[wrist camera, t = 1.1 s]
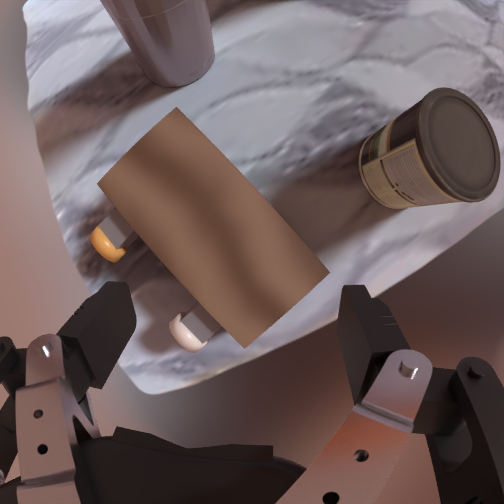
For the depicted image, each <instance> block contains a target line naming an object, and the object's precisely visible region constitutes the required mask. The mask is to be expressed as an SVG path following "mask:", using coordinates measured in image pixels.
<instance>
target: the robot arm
mask: <svg viewBox="0 0 504 504" xmlns="http://www.w3.org/2000/svg"><path fill="white" fill-rule="evenodd" d="M100 1H101V2H102V4H103V6H104V7H105V9H106V10H107V12H108V13H109V15H110V17H111V18H112V20H113V21H114V23H115V25H116V26H117V28H118V30H119V31H120V33H121V34H122V36H123V38H124V39H125V41H126V42H127V44H128V46H129V47H130V49H131V50H132V52H133V54H134V55H135V57H136V59H137V60H138V62H139V64H140V65H141V67H142V69H143V70H144V72H145V73H146V75H147V77H148V78H149V79H150V80H151V81H152V82H154V83H155V84H157V85H160V86H164V87H179V86H184V85H187V84H189V83H192V82H194V81H196V80H197V79H199V78H201V77H202V76H203V75H204V74H205V73H206V72H207V71H208V70H209V69H210V67H211V65H212V63H213V61H214V57H215V51H214V44H213V37H212V30H211V23H210V17H209V10H208V3H207V0H100ZM136 321H137V320H136V314H135V310H134V306H133V302H132V298H131V294H130V290H129V287H128V285H127V283H126V282H114V281H108V282H106V283H105V284H104V285H103V286H102V287H101V289H100V290H99V291H98V292H97V293H95V294H94V295H92V296H91V297H89V298H88V299H86V300H85V301H84V302H83V304H82V305H81V306H80V308H78V309H77V311H75V313H74V315H72V316H71V317H70V318H69V320H68V321H67V322H66V323H65V324H64V326H63V327H62V328H61V329H60V330H59V332H58V333H57V334H56V335H55V334H46V335H42V336H40V337H38V338H36V339H35V340H33V341H32V342H31V343H30V345H29V346H28V348H22V349H16V347H15V345H14V343H13V342H12V340H11V339H10V338H9V337H0V384H1V383H2V385H3V386H4V388H5V389H6V391H7V392H8V393H9V397H8V399H7V400H6V402H5V403H4V405H3V407H2V408H1V410H0V504H373V503H374V501H375V500H376V498H377V496H378V495H379V493H380V492H381V490H382V488H383V487H384V485H385V483H386V481H387V480H388V478H389V476H390V474H391V473H392V470H393V469H394V467H395V465H396V463H397V461H398V459H399V457H400V456H401V453H402V452H403V450H404V447H405V445H406V443H407V441H408V439H409V437H410V435H411V433H418V434H425V436H426V440H427V444H428V447H429V452H430V455H431V459H432V464H433V468H434V472H435V476H436V482H437V486H438V491H439V496H440V502H441V504H504V387H503V385H502V384H501V382H500V380H499V378H498V377H497V375H496V373H495V371H494V369H493V368H492V367H491V365H490V364H488V363H487V362H486V361H484V360H483V359H480V358H477V357H466V358H464V359H462V360H461V361H460V362H459V364H458V366H457V368H456V370H453V369H443V368H435V367H432V365H431V363H430V361H429V360H428V359H427V357H426V356H424V355H423V354H421V353H419V352H417V351H414V350H411V349H410V347H409V345H408V343H407V341H406V339H405V337H404V335H403V333H402V331H401V329H400V328H399V326H398V324H397V322H396V320H395V319H394V317H393V315H392V313H391V311H390V310H389V307H388V306H387V305H386V304H385V303H384V302H382V301H381V300H380V299H379V298H371V296H370V294H369V292H368V290H367V289H366V287H365V285H344V286H343V288H342V294H341V301H340V307H339V314H338V320H337V335H338V340H339V344H340V348H341V351H342V355H343V359H344V363H345V367H346V371H347V375H348V380H349V384H350V388H351V392H352V396H353V400H354V405H355V406H354V408H353V409H352V411H351V412H350V414H349V415H348V417H347V418H346V419H345V421H344V422H343V423H342V425H341V426H340V428H339V429H338V430H337V432H336V433H335V435H334V436H333V437H332V438H331V440H330V441H329V442H328V444H327V445H326V446H325V448H324V449H323V450H322V451H321V453H320V454H319V455H318V456H317V458H316V459H315V460H314V461H313V462H312V464H311V465H310V466H309V467H308V468H305V467H303V466H301V465H300V464H297V463H295V462H293V461H290V460H287V459H284V458H281V457H276V456H273V446H268V445H265V446H264V445H263V446H262V445H238V444H228V445H220V446H212V447H203V448H190V449H189V448H184V447H181V446H179V445H176V444H173V443H171V442H169V441H166V440H164V439H161V438H159V437H157V436H155V435H152V434H150V433H145V432H140V431H135V430H130V429H126V428H122V427H118V426H117V427H116V429H115V432H114V434H113V436H105V437H102V436H101V434H100V431H99V428H98V425H97V421H96V418H95V414H94V411H93V407H92V403H91V399H90V396H89V394H88V392H87V389H88V388H89V386H90V387H94V388H98V389H102V388H103V386H104V384H105V382H106V380H107V379H108V377H109V375H110V373H111V371H112V370H113V368H114V366H115V364H116V362H117V361H118V359H119V357H120V355H121V354H122V352H123V350H124V348H125V347H126V345H127V343H128V341H129V340H130V338H131V336H132V334H133V333H134V331H135V328H136ZM17 453H18V457H19V466H20V473H21V476H19V477H17V478H15V479H13V480H11V481H9V482H7V483H5V479H6V477H7V475H8V472H9V470H10V467H11V465H12V463H13V461H14V459H15V457H16V455H17Z"/></svg>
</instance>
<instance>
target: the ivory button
mask: <svg viewBox="0 0 504 504" xmlns="http://www.w3.org/2000/svg"><path fill="white" fill-rule="evenodd" d="M221 328H222V326H221V325H220V324H219V323H218V322H217V321H216V320H215V319H214V318H213V317H212V315H211V314H210V313H209V312H208V311H207V310H206V309H205V308H204V307H203V306H202V305H201V304H200V303H199V302H197V303H196V304H195V305H194V306H193V307H192V308H191V309H189V310H188V311H187V312H186V313H184V312H180V313H179V314H178V315H177V316H176V317H175V318H174V319H173V320H171V321H170V322H169V329H170V331H171V333H172V335H173V337H174V338H175V339H176V341H177V342H178V343H179V344H180V345H181V346H182V347H184V348H185V349H186V350H188V351H190V352H192V353H196V352H197V351H199V350H200V349H201V348H202V347H203V346H205V345H206V344H207V343H208V339H209V338H210V337H211V336H212V335H214V334H215V333H216V332H217V331H218V330H219V329H221Z"/></svg>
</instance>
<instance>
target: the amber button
mask: <svg viewBox="0 0 504 504" xmlns="http://www.w3.org/2000/svg"><path fill="white" fill-rule="evenodd" d="M138 237H139V235H138V234H137V233H136V231H135V230H134V229H133V228H132V227H131V225H130V224H129V223H128V222H127V221H126V219H125V218H124V217H123V216H122V215H121V213H120V212H119V211H118V210H117V208H116V207H115V208H114V209H113V210H112V211H111V213H110V214H109V215H108V216H107V217H106V218H105V219H104V220H103V221H102V223H100V224H99V225H98V226H97V227H96V228H95V230H94V231H93V232H92V233H91V234H90V240H91V243H92V245H93V246H94V248H95V249H96V250H97V251H98V252H99V253H100V254H101V255H102V256H103V257H104V258H106V259H107V260H109V261H111V262H118V261H119V259H120V258H121V257H122V256H123V255H124V254H125V253H126V252H127V251H128V247H129V246H130V245H131V244H132V243H133V242H134V241H135V240H136V239H137V238H138Z"/></svg>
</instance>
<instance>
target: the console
mask: <svg viewBox="0 0 504 504" xmlns="http://www.w3.org/2000/svg"><path fill="white" fill-rule="evenodd" d="M97 184H98V186H99V187H100V188H101V190H102V191H103V192H104V193H105V195H106V196H107V197H108V198H109V200H110V201H111V202H112V203H113V205H114V206H115V207H116V208H117V210H118V211H119V212H120V213H121V215H122V216H123V217H124V218H125V219H126V221H127V222H128V223H129V224H130V225H131V227H132V228H133V229H134V230H135V231H136V233H137V234H138V235H139V236H140V237H141V239H142V240H143V241H144V242H145V243H146V244H147V246H148V247H149V248H150V249H151V250H152V251H153V252H154V254H155V255H156V256H157V257H158V258H159V259H160V260H161V262H162V263H163V264H164V265H165V266H166V267H167V268H168V269H169V270H170V272H171V273H172V274H173V275H174V276H175V277H176V278H177V279H178V280H179V282H180V283H181V284H182V285H183V286H184V287H185V288H186V289H187V290H188V291H189V292H190V293H191V294H192V296H193V297H194V298H195V299H196V300H197V301H198V302H199V303H200V304H201V305H202V306H203V307H204V308H205V309H206V310H207V311H208V312H209V313H210V314H211V315H212V317H213V318H214V319H215V320H216V321H217V322H218V323H219V324H220V325H221V326H222V327H223V328H224V329H225V330H226V331H227V332H228V333H229V334H230V335H231V336H232V337H233V338H234V339H235V340H236V341H237V342H238V343H239V344H240V345H241V346H242V347H243V348H244V349H245V348H246V347H247V346H248V345H249V344H251V343H252V342H253V341H254V340H255V339H257V338H258V337H259V336H260V335H261V334H262V333H264V332H265V331H266V330H267V329H268V328H269V327H271V326H272V325H273V324H274V323H275V322H276V321H277V320H279V319H280V318H281V317H282V316H283V315H284V314H285V313H287V312H288V311H289V310H290V309H291V308H292V307H293V306H294V305H296V304H297V303H298V302H299V301H300V300H301V299H302V298H303V297H304V296H305V295H307V294H308V293H309V292H310V291H311V290H312V289H313V288H314V287H315V286H316V285H317V284H318V283H320V282H321V281H322V280H323V279H324V278H325V277H326V276H327V275H328V274H329V273H330V272H329V271H328V269H327V268H326V267H325V266H324V265H323V264H322V262H321V261H320V260H319V259H318V258H317V257H316V255H315V254H314V253H313V252H312V251H311V250H310V248H309V247H308V246H307V245H306V244H305V243H304V242H303V240H302V239H301V238H300V237H299V236H298V235H297V234H296V233H295V231H294V230H293V229H292V228H291V227H290V226H289V225H288V224H287V222H286V221H285V220H284V219H283V218H282V217H281V216H280V215H279V214H278V212H277V211H276V210H275V209H274V208H273V207H272V206H271V205H270V204H269V202H268V201H267V200H266V199H265V198H264V197H263V196H262V195H261V194H260V193H259V192H258V191H257V189H256V188H255V187H254V186H253V185H252V184H251V183H250V182H249V181H248V180H247V179H246V178H245V177H244V175H243V174H242V173H241V172H240V171H239V170H238V169H237V168H236V167H235V166H234V165H233V164H232V163H231V162H230V161H229V160H228V159H227V158H226V157H225V155H224V154H223V153H222V152H221V151H220V150H219V149H218V148H217V147H216V146H215V145H214V144H213V143H212V142H211V141H210V140H209V139H208V138H207V137H206V136H205V135H204V134H203V133H202V132H201V131H200V130H199V129H198V128H197V127H196V126H195V125H194V124H193V123H192V122H191V121H190V120H189V119H188V118H187V117H186V116H185V115H184V114H183V113H182V112H181V111H180V110H179V109H178V108H177V107H176V108H175V109H173V110H172V111H171V112H170V113H169V114H168V115H166V116H165V117H164V118H163V119H162V120H161V121H160V122H159V123H157V124H156V125H155V126H154V127H153V128H152V129H151V130H150V131H149V132H147V133H146V134H145V135H144V136H143V137H142V138H141V139H140V140H139V141H138V142H137V143H136V144H135V145H134V146H133V147H132V148H131V149H130V150H129V151H128V152H127V153H126V154H125V155H124V156H123V157H122V158H121V159H120V160H119V161H118V162H117V163H116V164H115V165H114V166H113V167H112V168H111V169H110V170H109V171H108V172H107V173H106V174H105V175H104V177H103V178H102V179H101V180H100V181H99V182H98V183H97Z"/></svg>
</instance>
